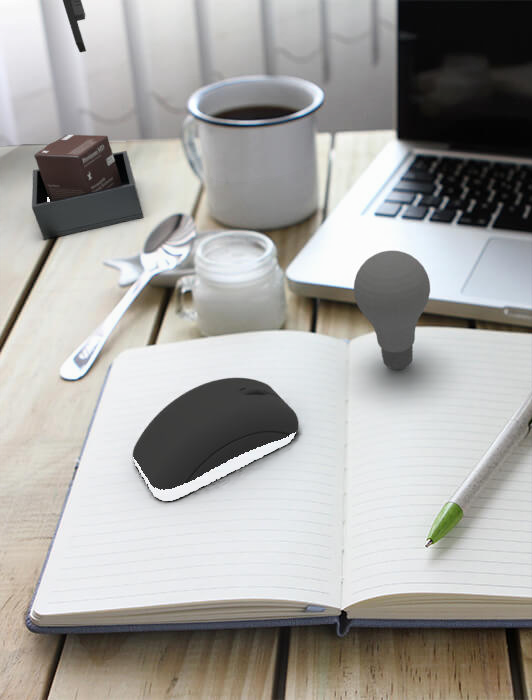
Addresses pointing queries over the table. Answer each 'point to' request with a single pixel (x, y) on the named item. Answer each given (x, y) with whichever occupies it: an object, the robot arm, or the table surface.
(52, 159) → the box
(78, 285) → the table surface
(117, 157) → the dark grey open tray
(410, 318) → the light bulb
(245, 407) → the computer mouse
